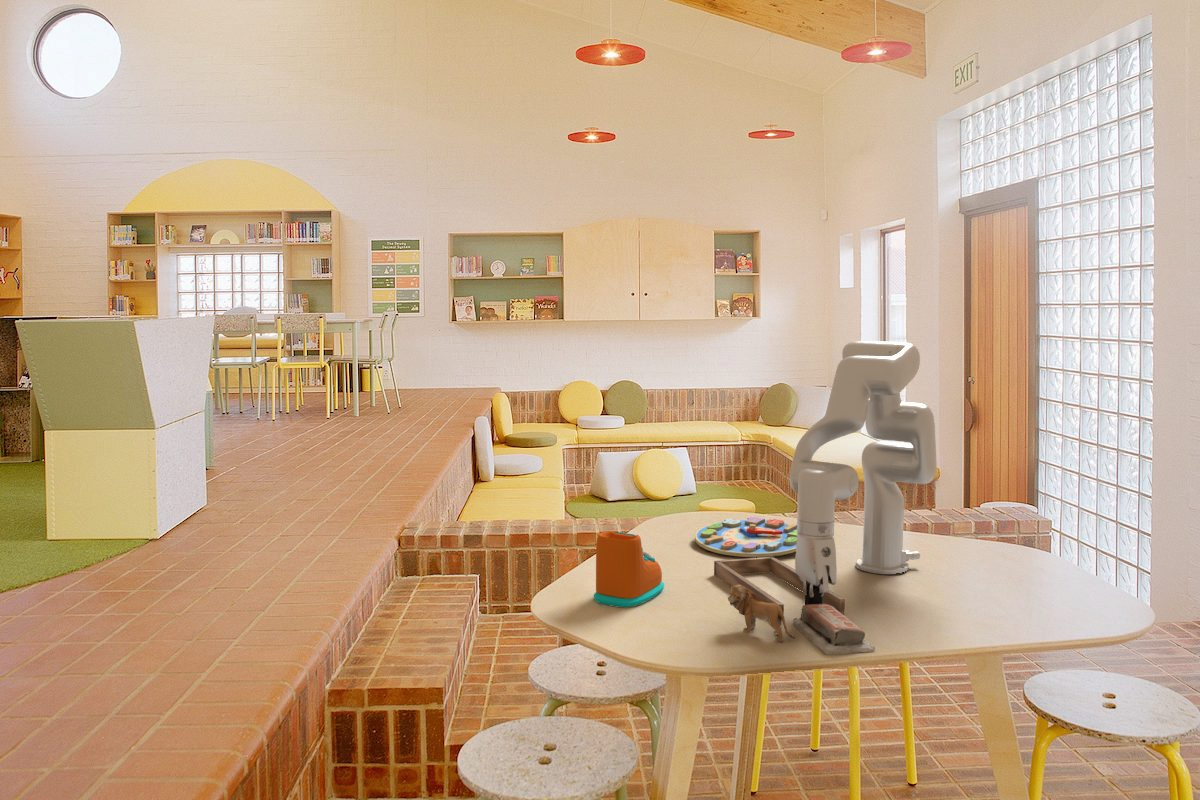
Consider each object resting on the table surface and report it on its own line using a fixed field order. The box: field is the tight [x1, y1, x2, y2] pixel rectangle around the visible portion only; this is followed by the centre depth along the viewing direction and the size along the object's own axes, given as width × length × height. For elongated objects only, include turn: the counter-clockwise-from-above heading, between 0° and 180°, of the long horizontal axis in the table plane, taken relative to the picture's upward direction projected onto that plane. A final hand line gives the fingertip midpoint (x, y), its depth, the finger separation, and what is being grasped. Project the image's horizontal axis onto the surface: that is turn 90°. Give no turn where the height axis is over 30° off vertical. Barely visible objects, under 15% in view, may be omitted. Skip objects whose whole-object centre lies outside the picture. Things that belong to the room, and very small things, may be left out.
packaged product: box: [792, 604, 876, 655], centre depth 197 cm, size 18×5×10 cm
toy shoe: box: [593, 530, 665, 608], centre depth 223 cm, size 12×20×15 cm, turn 150°
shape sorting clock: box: [694, 516, 798, 558], centre depth 268 cm, size 31×30×6 cm
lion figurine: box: [727, 585, 796, 643], centre depth 198 cm, size 15×5×9 cm, turn 53°
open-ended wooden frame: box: [713, 556, 846, 622], centre depth 225 cm, size 15×35×4 cm, turn 16°
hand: (813, 613), depth 207 cm, fingers closed
